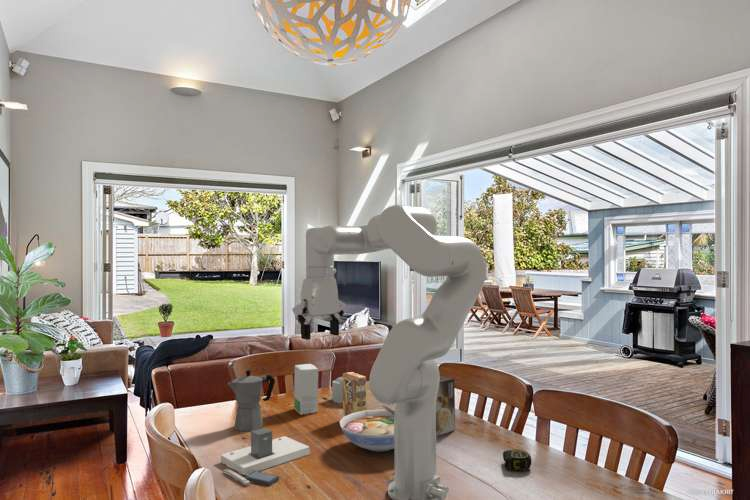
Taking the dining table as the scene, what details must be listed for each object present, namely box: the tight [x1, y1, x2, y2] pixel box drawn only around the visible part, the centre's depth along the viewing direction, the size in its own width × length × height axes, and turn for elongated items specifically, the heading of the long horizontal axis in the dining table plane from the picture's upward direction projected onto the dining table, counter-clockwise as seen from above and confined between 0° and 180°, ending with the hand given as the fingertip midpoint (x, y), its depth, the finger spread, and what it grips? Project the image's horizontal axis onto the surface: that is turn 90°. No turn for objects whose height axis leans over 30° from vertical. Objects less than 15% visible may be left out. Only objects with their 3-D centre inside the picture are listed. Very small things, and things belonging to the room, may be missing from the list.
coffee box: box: [436, 375, 456, 437], centre depth 160 cm, size 9×6×16 cm
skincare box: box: [293, 363, 319, 416], centre depth 182 cm, size 8×7×16 cm
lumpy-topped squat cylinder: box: [331, 376, 368, 405], centre depth 194 cm, size 10×13×9 cm
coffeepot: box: [227, 369, 276, 432], centre depth 166 cm, size 15×9×18 cm, turn 121°
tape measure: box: [502, 449, 532, 472], centre depth 132 cm, size 7×7×4 cm
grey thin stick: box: [223, 468, 251, 487], centre depth 127 cm, size 11×1×1 cm, turn 44°
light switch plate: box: [220, 435, 311, 476], centre depth 140 cm, size 12×20×2 cm, turn 134°
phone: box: [244, 471, 280, 487], centre depth 126 cm, size 8×4×1 cm, turn 64°
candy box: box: [342, 371, 368, 417], centre depth 170 cm, size 9×4×15 cm, turn 33°
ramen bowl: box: [338, 405, 395, 453], centre depth 147 cm, size 25×23×8 cm
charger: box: [250, 427, 273, 459], centre depth 138 cm, size 4×4×8 cm
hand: (320, 337), depth 140 cm, fingers open, 9 cm apart
